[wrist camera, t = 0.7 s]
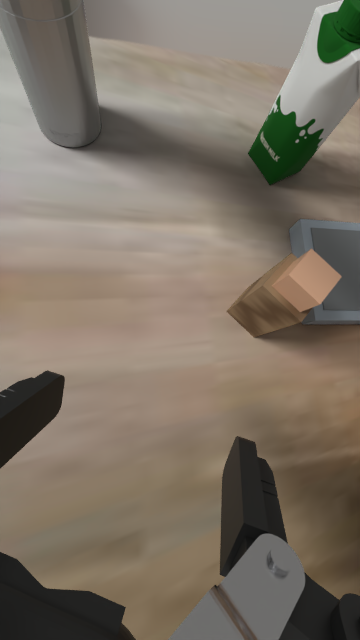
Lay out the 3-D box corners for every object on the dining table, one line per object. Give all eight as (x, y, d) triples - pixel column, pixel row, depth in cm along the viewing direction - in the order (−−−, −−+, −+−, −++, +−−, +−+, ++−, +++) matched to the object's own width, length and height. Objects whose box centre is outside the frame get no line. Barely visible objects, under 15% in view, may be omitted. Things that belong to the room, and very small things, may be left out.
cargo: (271, 285, 26) (288, 274, 23) (293, 261, 27) (311, 248, 24) (300, 312, 26) (320, 304, 23) (320, 287, 27) (341, 276, 24)
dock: (288, 229, 42) (301, 218, 38) (352, 233, 43) (368, 223, 40) (302, 324, 38) (316, 320, 35) (369, 324, 40) (389, 320, 37)
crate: (226, 311, 37) (262, 285, 26) (249, 286, 38) (291, 252, 28) (253, 337, 36) (301, 322, 26) (275, 311, 38) (328, 287, 27)
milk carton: (240, 151, 43) (323, -28, 24) (279, 135, 46) (383, -40, 26) (268, 191, 42) (377, 40, 23) (306, 173, 45) (435, 21, 25)
